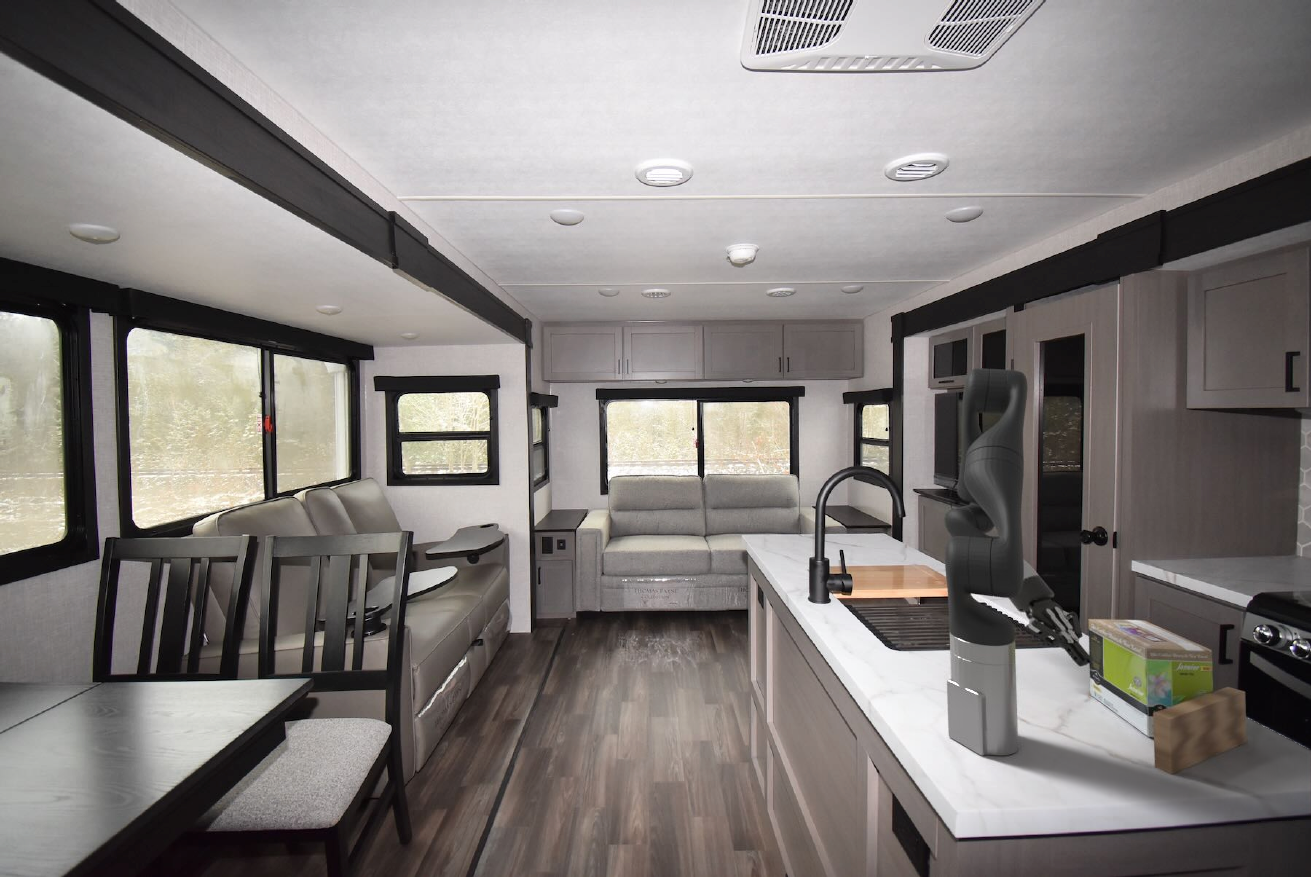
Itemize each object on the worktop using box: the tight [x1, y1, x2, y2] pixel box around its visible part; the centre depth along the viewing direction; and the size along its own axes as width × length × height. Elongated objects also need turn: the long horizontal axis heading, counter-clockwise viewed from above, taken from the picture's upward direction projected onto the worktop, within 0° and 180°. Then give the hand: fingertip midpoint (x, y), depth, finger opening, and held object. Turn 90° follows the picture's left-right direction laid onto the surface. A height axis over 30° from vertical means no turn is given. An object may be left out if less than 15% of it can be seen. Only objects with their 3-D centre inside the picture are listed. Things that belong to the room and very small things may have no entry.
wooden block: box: [1153, 686, 1248, 775], centre depth 83 cm, size 20×2×8 cm, turn 111°
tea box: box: [1088, 618, 1214, 738], centre depth 94 cm, size 15×10×15 cm, turn 171°
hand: (1086, 664), depth 103 cm, fingers closed
